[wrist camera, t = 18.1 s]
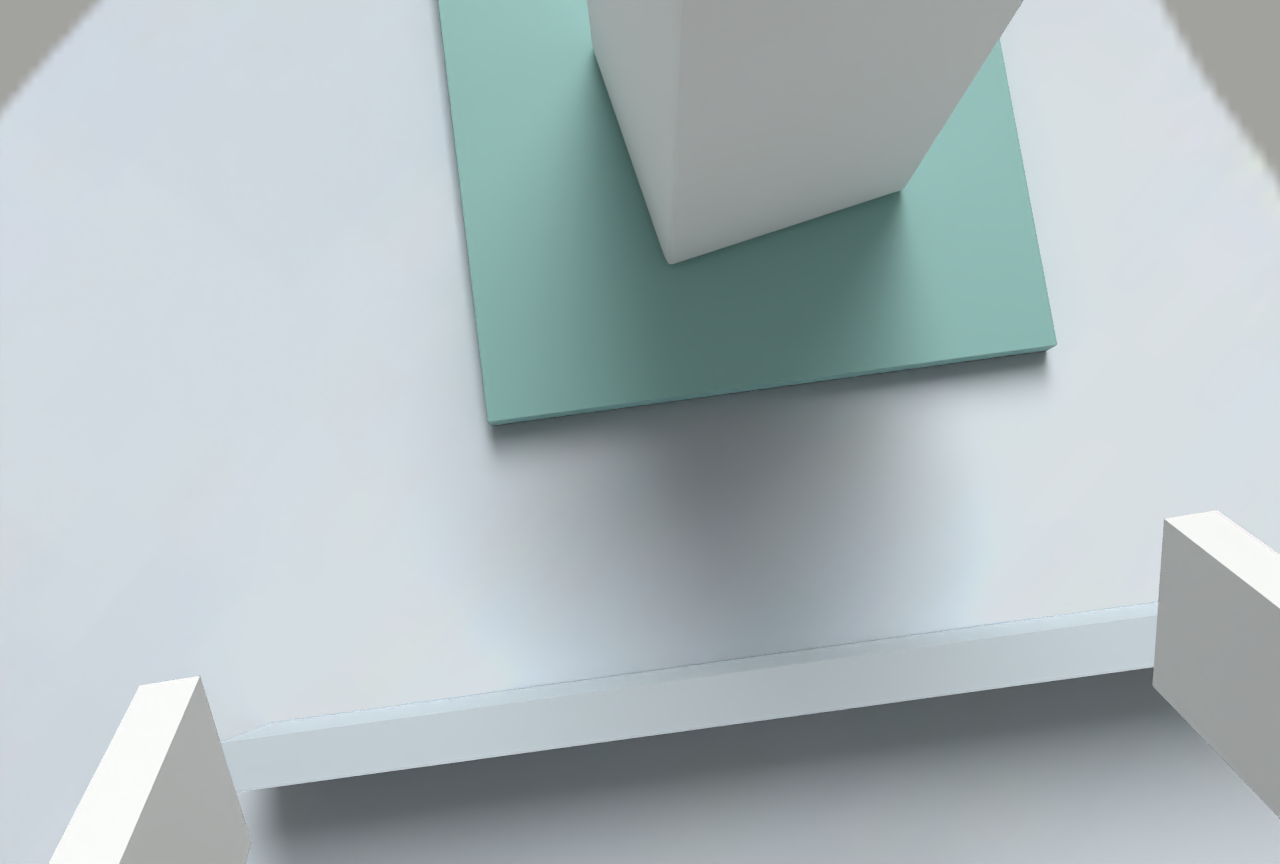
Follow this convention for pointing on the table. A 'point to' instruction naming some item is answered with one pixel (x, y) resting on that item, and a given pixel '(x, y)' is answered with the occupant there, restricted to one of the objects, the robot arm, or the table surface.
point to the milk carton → (781, 103)
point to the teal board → (722, 279)
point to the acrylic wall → (693, 697)
